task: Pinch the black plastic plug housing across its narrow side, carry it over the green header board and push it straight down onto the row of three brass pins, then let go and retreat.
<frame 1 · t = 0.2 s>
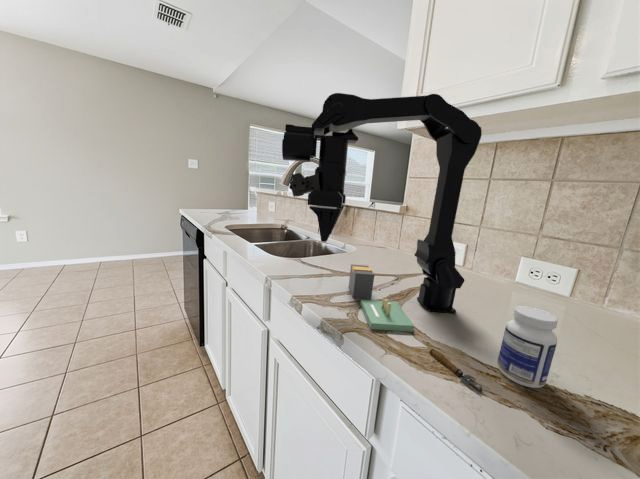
hand: (326, 237, 55), 14 cm above the worktop, fingers open, 9 cm apart
header board: (384, 316, 51), on the worktop
pill bottle: (518, 376, 37), on the worktop
plug housing: (359, 292, 63), on the worktop
can opener: (452, 374, 37), on the worktop
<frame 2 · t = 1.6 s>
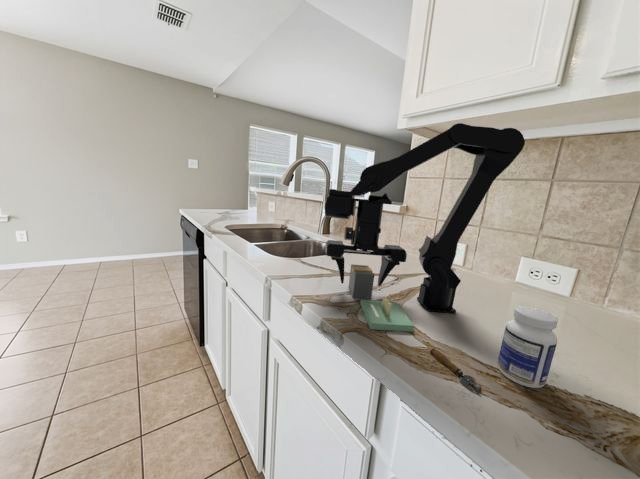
hand: (360, 284, 63), 2 cm above the worktop, fingers open, 9 cm apart
nothing on the worktop moved.
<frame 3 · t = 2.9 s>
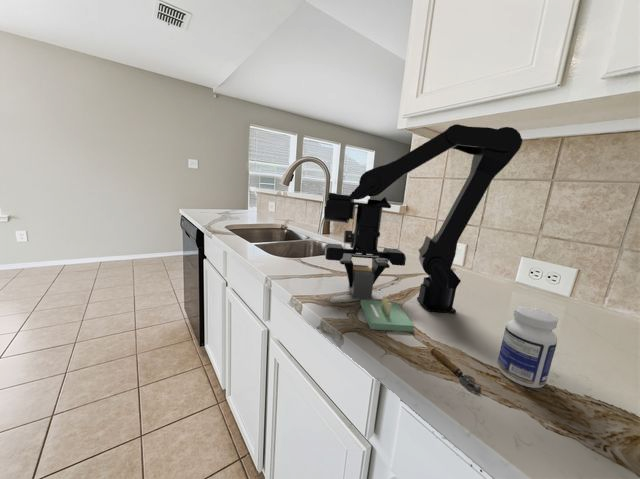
hand: (359, 287, 63), 1 cm above the worktop, fingers closed on plug housing, 4 cm apart
plug housing: (359, 292, 63), on the worktop, touching gripper
everything else where it was.
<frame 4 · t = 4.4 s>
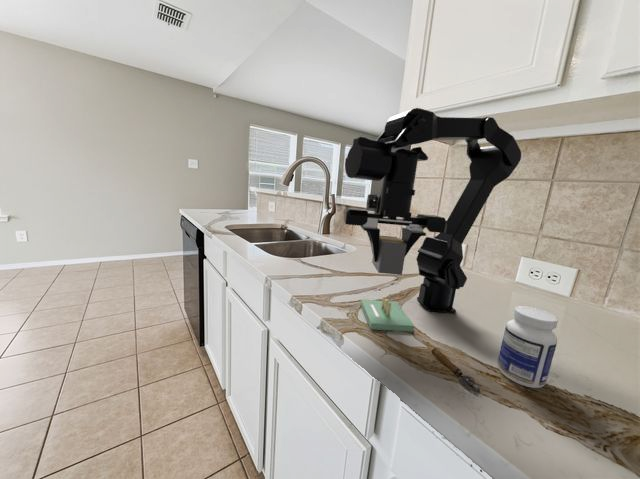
hand: (386, 262, 51), 11 cm above the worktop, fingers closed on plug housing, 4 cm apart
plug housing: (385, 268, 51), point 10 cm above the worktop, touching gripper
everything else where it was.
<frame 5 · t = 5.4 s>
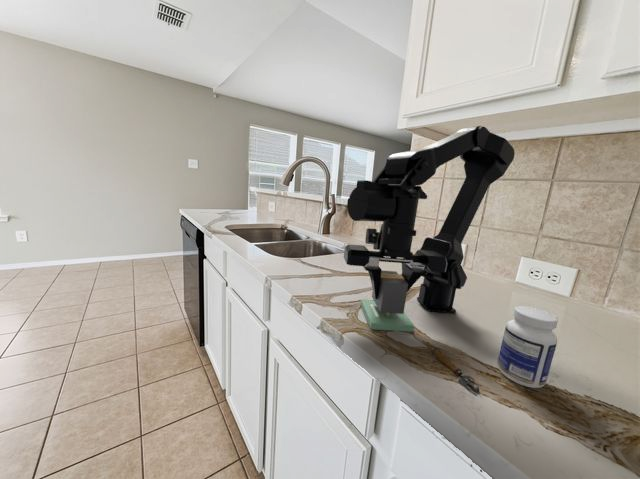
hand: (387, 299, 51), 4 cm above the worktop, fingers closed on plug housing, 4 cm apart
plug housing: (386, 304, 51), point 3 cm above the worktop, touching gripper
everything else where it was.
when the fingers open (3 cm above the worktop, at t = 6.3 s): plug housing stays where it is, resting on header board.
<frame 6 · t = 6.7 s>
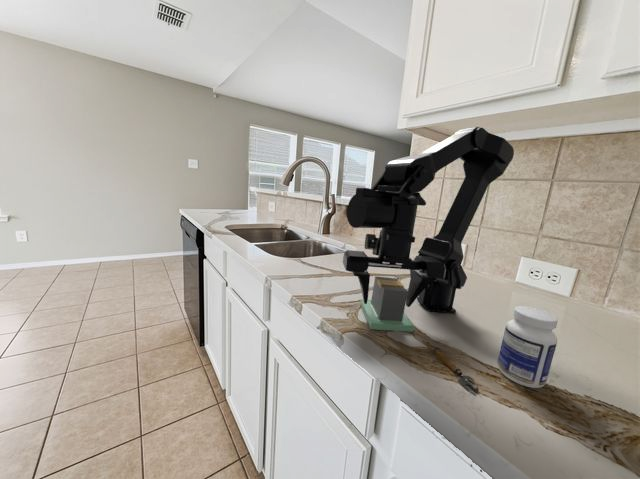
hand: (386, 304, 51), 3 cm above the worktop, fingers open, 8 cm apart
plug housing: (385, 311, 51), point 1 cm above the worktop, touching header board
everything else where it was.
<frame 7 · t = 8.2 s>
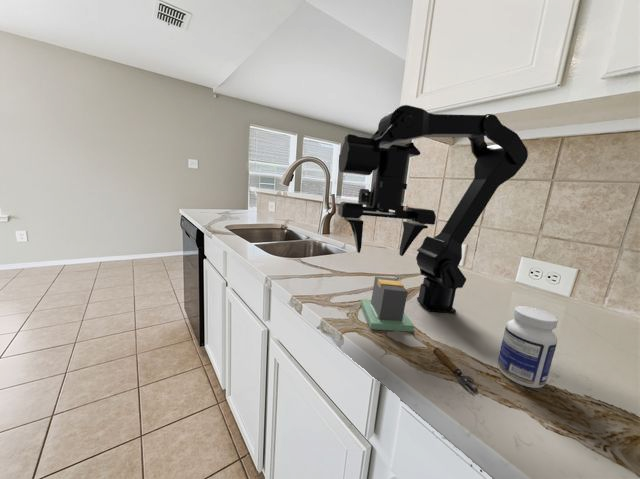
hand: (379, 253, 53), 12 cm above the worktop, fingers open, 9 cm apart
nothing on the worktop moved.
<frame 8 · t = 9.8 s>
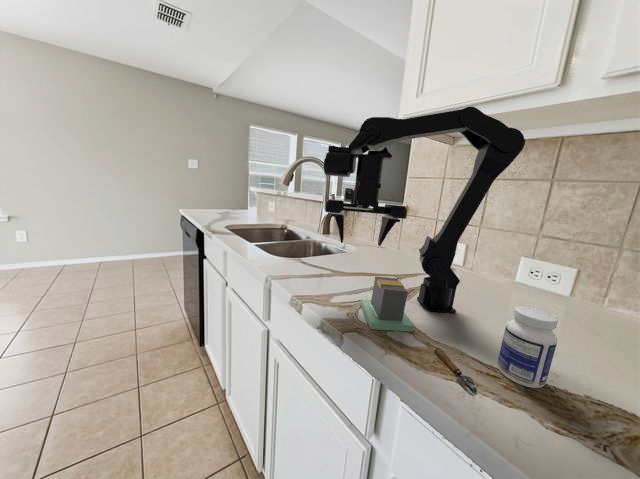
hand: (360, 244, 62), 12 cm above the worktop, fingers open, 9 cm apart
nothing on the worktop moved.
at the end: plug housing 0.0 cm off-centre on the header board, point 1.3 cm above the header board's base; plug housing tilted 1°; the gripper is holding nothing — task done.
